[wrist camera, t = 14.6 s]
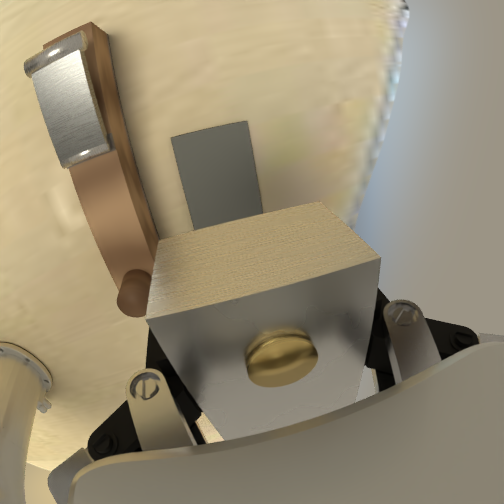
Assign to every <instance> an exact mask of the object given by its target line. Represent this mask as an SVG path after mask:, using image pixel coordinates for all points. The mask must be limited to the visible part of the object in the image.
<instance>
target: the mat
mask: <svg viewBox="0 0 504 504" xmlns="http://www.w3.org/2000/svg"><path fill="white" fill-rule="evenodd" d="M171 141H172V146H173V150H174V154H175V158H176V162H177V166H178V170H179V174H180V178H181V181H182V185H183V189H184V193H185V197H186V200H187V204H188V208H189V211H190V215H191V219H192V222H193V226H194V229H195V230H199V229H202V228H206V227H210V226H214V225H218V224H222V223H226V222H230V221H235V220H239V219H243V218H247V217H251V216H255V215H260V214H263V211H262V205H261V199H260V193H259V187H258V181H257V175H256V169H255V163H254V158H253V152H252V146H251V140H250V135H249V129H248V123H247V121H242V122H237V123H232V124H227V125H222V126H217V127H212V128H208V129H204V130H199V131H195V132H191V133H187V134H183V135H179V136H175V137H172V138H171Z"/></svg>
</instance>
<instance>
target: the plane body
mask: <svg viewBox="0 0 504 504" xmlns="http://www.w3.org/2000/svg"><path fill="white" fill-rule="evenodd" d="M79 31H84V33H85V34H86V37H87V41H88V48H87V50H85V51H84V52H85V57H86V61H87V65H88V69H89V73H90V77H91V81H92V85H93V88H94V92H95V96H96V99H97V103H98V106H99V109H100V113H101V116H102V119H103V123H104V126H105V129H106V132H107V135H108V138H109V141H110V144H111V150H110V151H108V152H105V153H102V154H100V155H97V156H94V157H92V158H89V159H87V160H84V161H82V162H79V163H77V164H74V165H72V166H70V167H67V169H68V168H69V171H70V174H71V177H72V180H73V183H74V186H75V189H76V192H77V195H78V197H79V200H80V203H81V206H82V208H83V211H84V214H85V216H86V219H87V221H88V224H89V226H90V229H91V231H92V234H93V236H94V238H95V241H96V243H97V245H98V248H99V250H100V252H101V254H102V257H103V259H104V261H105V263H106V265H107V268H108V270H109V272H110V274H111V276H112V278H113V280H114V282H115V284H116V286H117V288H118V290H119V294H118V297H117V305H118V307H119V309H120V310H121V311H122V312H123V313H124V314H126V315H128V316H130V317H143V316H145V315H146V312H147V305H148V298H149V292H150V286H151V280H152V274H153V268H154V262H155V257H156V252H157V247H158V242H159V240H160V239H159V236H158V233H157V230H156V227H155V224H154V221H153V218H152V215H151V212H150V209H149V206H148V202H147V199H146V196H145V193H144V190H143V186H142V183H141V180H140V176H139V173H138V169H137V166H136V162H135V159H134V155H133V151H132V147H131V144H130V140H129V136H128V132H127V128H126V124H125V120H124V116H123V111H122V107H121V102H120V98H119V93H118V88H117V84H116V79H115V73H114V68H113V63H112V57H111V51H110V45H109V38H108V34H106V33H105V32H104V31H103V30H101V29H100V28H99V27H97V26H96V25H95V24H93V23H92V22H89V23H87V24H84V25H82V26H80V27H78V28H76V29H73V30H71V31H69V32H67V33H65V34H63V35H61V36H59V37H57V38H55V39H54V40H52V41H50V42H48V43H46V44H44V45H43V50H44V49H46V48H48V47H49V46H51V45H53V44H55V43H57V42H59V41H61V40H63V39H65V38H67V37H69V36H71V35H73V34H75V33H77V32H79Z"/></svg>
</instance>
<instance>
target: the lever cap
mask: <svg viewBox="0 0 504 504" xmlns="http://www.w3.org/2000/svg"><path fill="white" fill-rule="evenodd" d="M380 264H381V257H380V256H379V255H378V254H377V253H376V252H375V251H374V250H373V249H372V248H371V247H370V246H369V245H368V244H367V243H365V242H364V241H363V240H362V239H361V238H360V237H359V236H358V235H357V234H356V233H355V232H354V231H353V230H351V229H350V228H349V227H348V226H347V225H346V224H345V223H344V222H343V221H341V220H340V219H339V218H338V217H337V216H336V215H335V214H333V213H332V212H331V211H330V210H329V209H328V208H327V207H325V206H324V205H323V204H322V203H321V202H320V201H317V202H313V203H308V204H303V205H299V206H294V207H290V208H286V209H281V210H277V211H272V212H268V213H264V214H260V215H255V216H251V217H247V218H243V219H239V220H235V221H230V222H226V223H222V224H218V225H214V226H210V227H206V228H202V229H199V230H195V231H191V232H187V233H183V234H179V235H176V236H172V237H168V238H164V239H161V240H159V242H158V247H157V252H156V257H155V262H154V268H153V274H152V280H151V286H150V292H149V298H148V305H147V312H146V319H145V320H146V322H147V323H148V325H149V327H150V329H151V331H152V332H153V334H154V336H155V338H156V339H157V341H158V343H159V344H160V346H161V348H162V350H163V351H164V353H165V355H166V356H167V358H168V360H169V361H170V363H171V364H172V366H173V368H174V369H175V371H176V372H177V374H178V375H179V377H180V379H181V380H182V382H183V383H184V385H185V386H186V388H187V389H188V391H189V392H190V394H191V395H192V397H193V398H194V399H195V401H196V402H197V404H198V405H199V407H200V408H201V409H202V411H203V412H204V414H205V415H206V416H207V418H208V419H209V420H210V422H211V423H212V425H213V426H214V427H215V429H216V430H217V431H218V432H219V434H220V435H221V436H222V438H223V439H224V440H225V441H226V440H231V439H236V438H241V437H246V436H250V435H255V434H259V433H263V432H267V431H271V430H275V429H279V428H282V427H286V426H289V425H293V424H296V423H299V422H303V421H306V420H309V419H312V418H315V417H318V416H321V415H324V414H327V413H330V412H332V411H335V410H338V409H340V408H343V407H346V406H348V405H351V404H353V403H355V400H356V396H357V393H358V389H359V385H360V381H361V377H362V373H363V368H364V364H365V359H366V354H367V350H368V345H369V339H370V334H371V329H372V323H373V317H374V311H375V304H376V297H377V290H378V282H379V273H380Z"/></svg>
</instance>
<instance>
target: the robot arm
mask: <svg viewBox="0 0 504 504" xmlns="http://www.w3.org/2000/svg"><path fill="white" fill-rule="evenodd" d="M365 365H366V366H367V367H368V368H371V370H372V375H373V380H374V386H375V392H376V394H375V395H373V396H370V397H368V398H366V399H363V400H361V401H358V402H356V403H353V404H351V405H348V406H346V407H343V408H340V409H338V410H335V411H332V412H330V413H327V414H324V415H321V416H318V417H315V418H312V419H309V420H306V421H303V422H299V423H296V424H293V425H289V426H286V427H282V428H279V429H275V430H271V431H267V432H263V433H259V434H255V435H250V436H246V437H241V438H236V439H231V440H226V441H221V442H215V443H208V442H207V440H206V438H205V436H204V434H203V432H202V430H201V428H200V426H199V424H198V422H197V419H198V418H199V417H200V416H201V412H203V411H202V409H201V408H200V407H199V405H198V404H197V402H196V401H195V399H194V398H193V397H192V395H191V394H190V392H189V391H188V389H187V388H186V386H185V385H184V383H183V382H182V380H181V379H180V377H179V375H178V374H177V372H176V371H175V369H174V368H173V366H172V364H171V363H170V361H169V360H168V358H167V356H166V355H165V353H164V351H163V350H162V348H161V346H160V344H159V343H158V341H157V339H156V338H155V336H154V334H153V332H152V331H151V329H150V327H149V334H148V345H147V356H146V369H143V370H140V371H138V372H136V373H135V374H134V375H133V376H131V377H130V379H129V380H128V382H127V385H126V396H127V400H126V401H125V402H124V403H123V404H122V405H121V406H120V407H119V408H118V409H117V410H116V411H115V412H114V413H113V414H112V415H111V416H110V417H109V418H108V419H107V420H105V421H104V422H103V423H102V424H101V425H100V426H99V427H98V428H97V429H96V430H95V431H94V432H93V433H92V435H91V436H90V438H89V440H88V446H87V448H86V449H84V448H81V449H80V450H78V451H77V452H76V453H74V454H73V455H72V456H71V457H69V458H68V459H67V460H66V461H64V462H63V463H62V464H60V465H59V466H58V467H56V468H55V469H54V470H53V471H52V472H51V473H50V474H49V477H48V487H49V490H50V492H51V493H52V495H53V497H54V499H55V501H56V502H57V504H504V336H502V335H492V334H483V333H479V335H478V336H477V335H476V334H475V333H474V332H473V331H472V330H471V329H469V328H467V327H464V326H460V325H455V324H451V323H445V322H441V321H436V320H432V319H428V318H424V316H423V313H422V311H421V310H420V308H419V307H418V306H417V305H416V304H415V303H413V302H411V301H408V300H394V301H391V302H390V301H389V300H388V299H387V298H386V296H385V295H384V294H383V293H382V292H381V291H380V289H379V288H378V290H377V297H376V304H375V311H374V317H373V323H372V329H371V334H370V339H369V345H368V350H367V354H366V359H365V364H364V366H365ZM51 386H52V378H51V376H50V373H49V372H48V370H47V369H46V368H45V367H44V365H43V364H42V363H41V362H40V361H39V360H38V359H36V358H35V357H34V356H33V355H31V354H30V353H28V352H27V351H25V350H23V349H22V348H20V347H18V346H15V345H13V344H9V343H0V504H26V502H25V492H24V476H25V466H26V459H27V453H28V447H29V441H30V436H31V431H32V426H33V422H34V418H35V413H36V409H38V410H40V411H41V412H42V413H46V412H47V410H48V409H50V408H51V406H52V404H51V403H50V402H49V401H48V400H46V399H45V393H46V392H48V391H49V390H50V389H51Z"/></svg>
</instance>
